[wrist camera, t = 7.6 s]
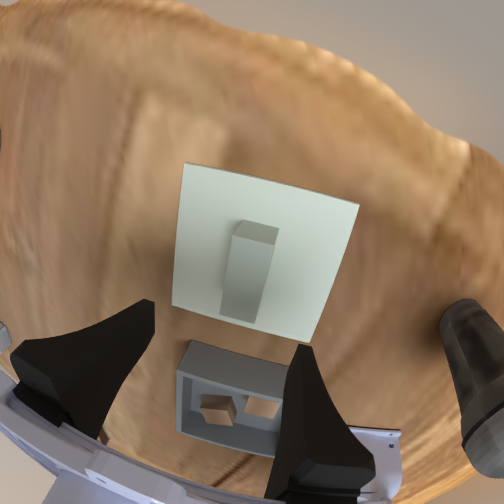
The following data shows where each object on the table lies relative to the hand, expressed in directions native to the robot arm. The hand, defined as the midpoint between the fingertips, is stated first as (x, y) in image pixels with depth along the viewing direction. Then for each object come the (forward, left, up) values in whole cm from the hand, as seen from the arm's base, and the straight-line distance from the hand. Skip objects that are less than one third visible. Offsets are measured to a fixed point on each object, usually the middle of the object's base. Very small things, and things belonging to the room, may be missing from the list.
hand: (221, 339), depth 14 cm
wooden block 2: (-4, +14, -8) cm, 17 cm away
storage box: (-2, +16, -9) cm, 18 cm away
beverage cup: (-19, +1, -9) cm, 21 cm away
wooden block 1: (0, +18, -8) cm, 20 cm away
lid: (0, 0, -10) cm, 10 cm away
